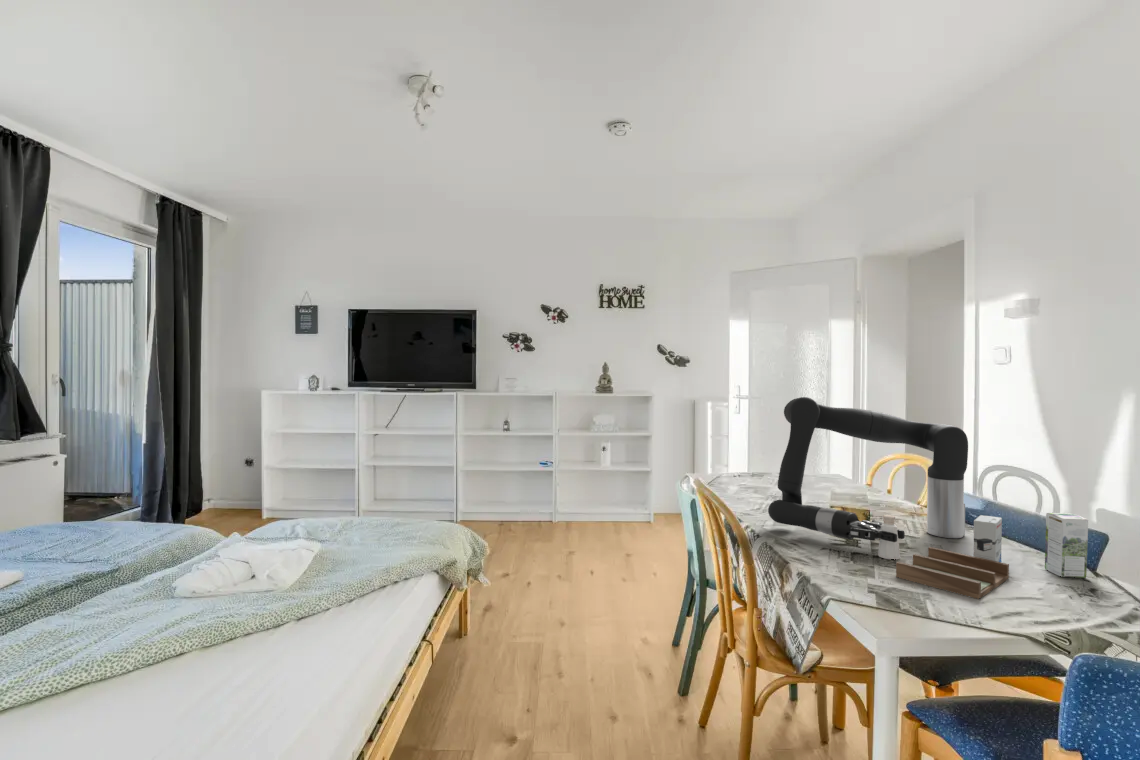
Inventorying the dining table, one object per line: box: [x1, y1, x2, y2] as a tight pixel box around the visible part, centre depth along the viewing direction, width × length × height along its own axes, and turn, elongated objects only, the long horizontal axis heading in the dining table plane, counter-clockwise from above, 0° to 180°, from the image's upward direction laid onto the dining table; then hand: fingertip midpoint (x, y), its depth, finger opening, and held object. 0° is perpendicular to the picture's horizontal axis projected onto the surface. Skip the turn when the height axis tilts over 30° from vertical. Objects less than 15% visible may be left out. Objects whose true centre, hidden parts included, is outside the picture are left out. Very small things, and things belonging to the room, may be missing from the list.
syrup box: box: [1044, 512, 1089, 579], centre depth 140 cm, size 6×6×14 cm
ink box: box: [973, 514, 1003, 563], centre depth 148 cm, size 8×5×12 cm, turn 135°
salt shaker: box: [877, 514, 901, 561], centre depth 154 cm, size 5×5×11 cm
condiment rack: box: [895, 546, 1010, 600], centre depth 138 cm, size 20×17×4 cm
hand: (900, 536), depth 151 cm, fingers closed on salt shaker, 4 cm apart
